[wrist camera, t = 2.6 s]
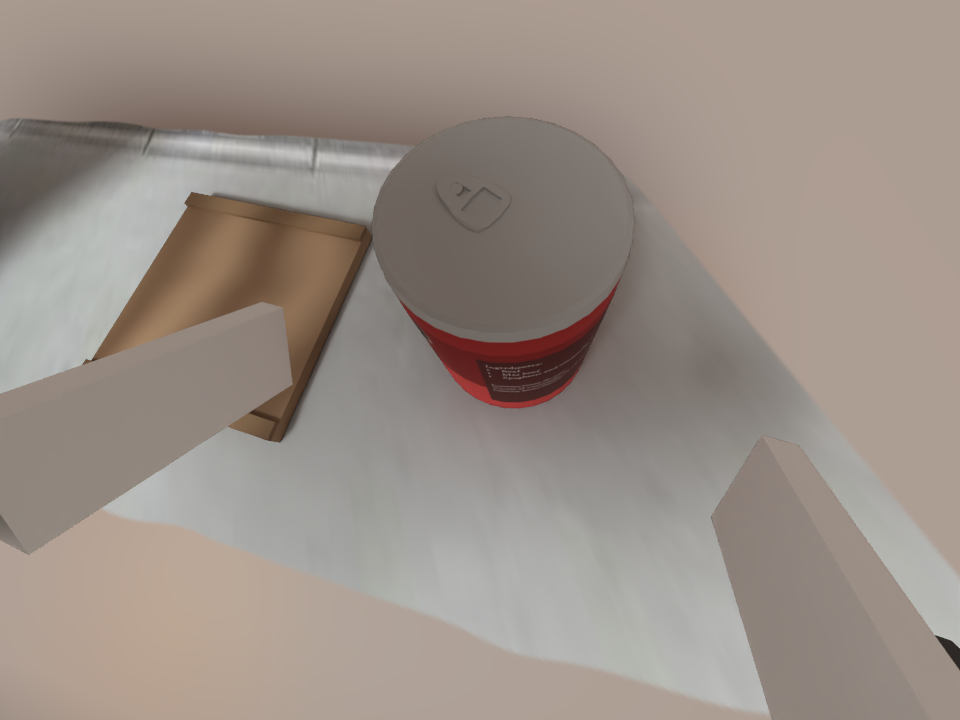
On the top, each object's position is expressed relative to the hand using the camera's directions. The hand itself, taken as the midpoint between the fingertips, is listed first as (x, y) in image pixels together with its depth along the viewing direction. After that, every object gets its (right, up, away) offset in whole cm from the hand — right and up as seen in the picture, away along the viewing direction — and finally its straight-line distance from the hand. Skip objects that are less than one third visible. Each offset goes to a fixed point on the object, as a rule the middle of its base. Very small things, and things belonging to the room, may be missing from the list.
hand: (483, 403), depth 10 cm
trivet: (-16, +5, +14) cm, 22 cm away
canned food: (+2, +2, +11) cm, 11 cm away
